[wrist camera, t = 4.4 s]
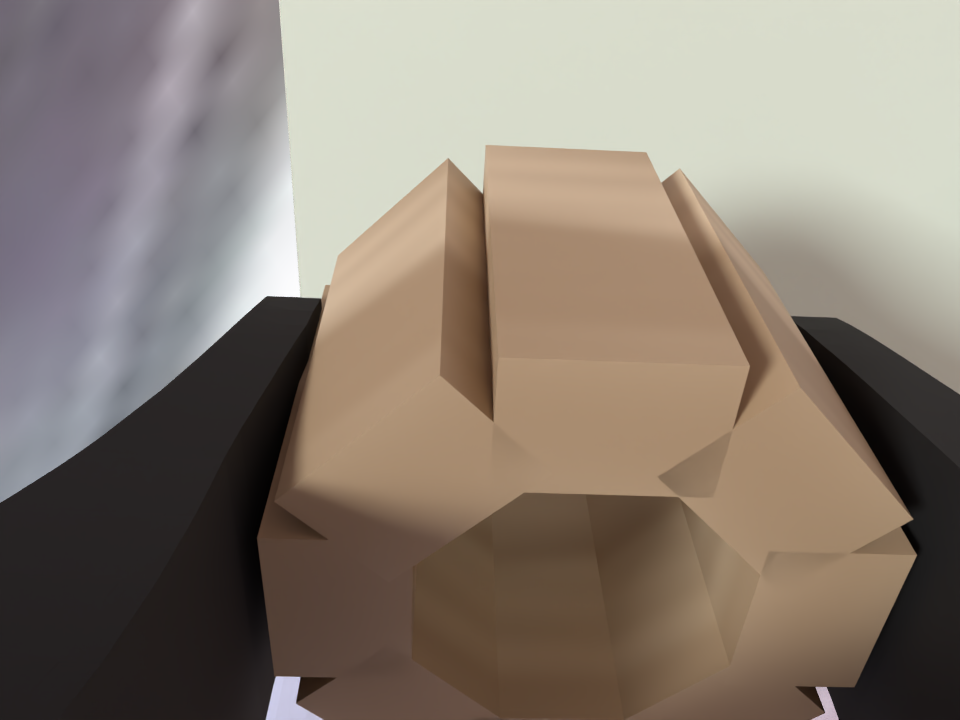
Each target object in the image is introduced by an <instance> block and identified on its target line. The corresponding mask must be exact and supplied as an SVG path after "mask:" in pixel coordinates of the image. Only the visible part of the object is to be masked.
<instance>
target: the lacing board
mask: <svg viewBox="0 0 960 720" xmlns="http://www.w3.org/2000/svg"><path fill="white" fill-rule="evenodd" d="M279 7H280V21H281V35H282V49H283V62H284V76H285V90H286V104H287V118H288V131H289V145H290V159H291V173H292V187H293V200H294V214H295V228H296V242H297V256H298V269H299V283H300V297H301V298H321V299H322V295H323V291H324V288H325V285H330V284H331V280H332V277H333V273H334V269H335V265H336V261H337V257H338V255H339V254H340V253H341V252H342V251H343V250H345V249H346V248H347V247H348V246H349V245H350V244H351V243H353V242H354V241H355V240H356V239H357V238H358V237H359V236H360V235H362V234H363V233H364V232H365V231H366V230H367V229H368V228H369V227H371V226H372V225H373V224H374V223H375V222H376V221H377V220H379V219H380V218H381V217H382V216H383V215H384V214H385V213H386V212H388V211H389V210H390V209H391V208H392V207H393V206H394V205H396V204H397V203H398V202H399V201H400V200H401V199H402V198H403V197H405V196H406V195H407V194H408V193H409V192H410V191H411V190H412V189H414V188H415V187H416V186H417V185H418V184H419V183H420V182H422V181H423V180H424V179H425V178H426V177H427V176H428V175H429V174H431V173H432V172H433V171H434V170H435V169H436V168H437V167H438V166H440V165H441V164H442V163H443V162H444V161H445V160H446V159H448V158H449V159H450V160H451V161H452V162H453V163H454V164H455V166H456V167H457V168H458V169H459V170H460V171H461V172H462V173H463V174H464V175H465V176H466V177H467V178H468V179H469V180H470V181H471V182H472V183H473V184H474V185H475V186H476V187H477V188H478V189H479V190H480V191H481V192H482V194H483V181H484V164H485V147H486V145H499V146H521V147H543V148H565V149H587V150H609V151H631V152H646V153H647V155H648V157H649V159H650V161H651V163H652V165H653V167H654V169H655V171H656V173H657V175H658V177H659V179H660V181H661V183H662V182H663V181H664V180H665V179H667V178H668V177H669V176H671V175H672V174H673V173H674V172H676V171H677V170H678V169H681V170H682V172H683V173H684V174H685V175H686V177H687V178H688V179H689V180H690V182H691V183H692V184H693V185H694V186H695V188H696V189H697V190H698V191H699V193H700V194H701V195H702V196H703V198H704V199H705V200H706V201H707V202H708V204H709V205H710V206H711V207H712V209H713V210H714V211H715V212H716V214H717V215H718V216H719V217H720V219H721V220H722V221H723V222H724V223H725V225H726V226H727V227H728V228H729V230H730V231H731V232H732V233H733V235H734V236H735V237H736V238H737V239H738V241H739V242H740V243H741V244H742V246H743V247H744V248H745V249H746V251H747V252H748V253H749V254H750V256H751V257H752V258H753V259H754V260H755V262H756V263H757V264H758V265H759V267H760V268H761V269H762V270H763V272H764V273H765V275H766V276H767V278H768V280H769V281H770V283H771V285H772V286H773V288H774V289H775V291H776V293H777V294H778V296H779V298H780V299H781V301H782V303H783V304H784V306H785V308H786V309H787V311H788V313H789V314H790V316H804V317H831V318H838V319H840V320H842V321H844V322H846V323H848V324H850V325H852V326H853V327H855V328H857V329H859V330H861V331H862V332H864V333H866V334H867V335H869V336H871V337H872V338H874V339H875V340H877V341H879V342H880V343H882V344H883V345H885V346H887V347H888V348H890V349H891V350H893V351H894V352H896V353H897V354H899V355H901V356H902V357H904V358H905V359H907V360H908V361H910V362H911V363H913V364H914V365H916V366H917V367H919V368H920V369H922V370H923V371H925V372H926V373H928V374H929V375H931V376H932V377H934V378H936V379H937V380H939V381H940V382H942V383H943V384H945V385H946V386H948V387H949V388H951V389H952V390H954V391H955V392H957V393H958V394H960V0H279Z"/></svg>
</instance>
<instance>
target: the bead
mask: <svg viewBox="0 0 960 720" xmlns="http://www.w3.org/2000/svg"><path fill="white" fill-rule="evenodd" d="M321 302H322V311H321V314H320V318H319V322H318V326H317V330H316V333H315V337H314V341H313V345H312V349H311V352H310V356H309V360H308V362H307V365H306V367H305V369H304V372H303V374H302V377H301V379H300V381H299V384H298V388H297V392H296V395H295V399H294V403H293V407H292V410H291V414H290V418H289V421H288V425H287V429H286V433H285V436H284V440H283V444H282V447H281V451H280V455H279V459H278V462H277V466H276V470H275V473H274V477H273V481H272V484H271V488H270V492H269V496H268V499H267V503H266V507H265V510H264V514H263V518H262V522H261V525H260V529H259V533H258V536H257V542H258V550H259V558H260V566H261V574H262V582H263V590H264V597H265V605H266V613H267V621H268V629H269V637H270V645H271V653H272V661H273V669H274V676H282V677H300V683H299V688H298V694H297V699H296V704H297V705H299V706H301V707H303V708H304V709H306V710H308V711H309V712H311V713H313V714H315V715H316V716H318V717H320V718H321V719H323V720H811V719H813V718H815V717H817V716H819V715H822V714H824V713H825V711H824V709H823V706H822V703H821V701H820V698H819V696H818V693H817V690H816V688H815V687H855V685H856V683H857V681H858V679H859V677H860V674H861V672H862V670H863V668H864V666H865V664H866V662H867V660H868V658H869V655H870V653H871V651H872V649H873V647H874V645H875V643H876V641H877V639H878V636H879V634H880V632H881V630H882V628H883V626H884V624H885V622H886V620H887V618H888V615H889V613H890V611H891V609H892V607H893V605H894V603H895V601H896V599H897V596H898V594H899V592H900V590H901V588H902V586H903V584H904V582H905V580H906V577H907V575H908V573H909V571H910V569H911V567H912V565H913V563H914V561H915V558H916V556H917V554H916V553H915V551H914V549H913V547H912V546H911V544H910V542H909V541H908V539H907V537H906V535H905V534H904V532H903V530H902V528H901V527H900V526H902V525H904V524H906V523H907V522H909V521H911V520H913V518H912V516H911V514H910V513H909V511H908V510H907V508H906V506H905V505H904V503H903V501H902V500H901V498H900V496H899V495H898V493H897V491H896V490H895V488H894V486H893V485H892V483H891V481H890V480H889V478H888V476H887V475H886V473H885V471H884V470H883V468H882V467H881V465H880V463H879V462H878V460H877V458H876V457H875V455H874V453H873V452H872V450H871V448H870V447H869V445H868V443H867V442H866V440H865V438H864V437H863V435H862V433H861V432H860V430H859V428H858V427H857V425H856V423H855V422H854V420H853V419H852V417H851V415H850V414H849V412H848V410H847V409H846V407H845V405H844V404H843V402H842V400H841V399H840V397H839V395H838V394H837V392H836V390H835V389H834V387H833V385H832V384H831V382H830V380H829V379H828V377H827V376H826V374H825V372H824V371H823V369H822V367H821V366H820V364H819V362H818V361H817V359H816V357H815V356H814V354H813V352H812V351H811V349H810V347H809V346H808V344H807V342H806V341H805V339H804V337H803V336H802V334H801V333H800V331H799V329H798V328H797V326H796V324H795V323H794V321H793V319H792V318H791V316H790V314H789V313H788V311H787V309H786V308H785V306H784V304H783V303H782V301H781V299H780V298H779V296H778V294H777V293H776V291H775V289H774V288H773V286H772V285H771V283H770V281H769V280H768V278H767V276H766V275H765V273H764V272H763V270H762V269H761V268H760V267H759V265H758V264H757V263H756V262H755V260H754V259H753V258H752V257H751V256H750V254H749V253H748V252H747V251H746V249H745V248H744V247H743V246H742V244H741V243H740V242H739V241H738V239H737V238H736V237H735V236H734V235H733V233H732V232H731V231H730V230H729V228H728V227H727V226H726V225H725V223H724V222H723V221H722V220H721V219H720V217H719V216H718V215H717V214H716V212H715V211H714V210H713V209H712V207H711V206H710V205H709V204H708V202H707V201H706V200H705V199H704V198H703V196H702V195H701V194H700V193H699V191H698V190H697V189H696V188H695V186H694V185H693V184H692V183H691V182H690V180H689V179H688V178H687V177H686V175H685V174H684V173H683V172H682V170H681V169H678V170H677V171H676V172H674V173H673V174H672V175H671V176H669V177H668V178H667V179H665V180H664V181H663V182H662V183H661V181H660V179H659V177H658V175H657V173H656V171H655V169H654V167H653V165H652V163H651V161H650V159H649V157H648V155H647V153H646V152H631V151H609V150H587V149H565V148H543V147H521V146H499V145H486V147H485V164H484V181H483V194H482V192H481V191H480V190H479V189H478V188H477V187H476V186H475V185H474V184H473V183H472V182H471V181H470V180H469V179H468V178H467V177H466V176H465V175H464V174H463V173H462V172H461V171H460V170H459V169H458V168H457V167H456V166H455V164H454V163H453V162H452V161H451V160H450V159H449V158H448V159H446V160H445V161H444V162H443V163H442V164H441V165H440V166H438V167H437V168H436V169H435V170H434V171H433V172H432V173H431V174H429V175H428V176H427V177H426V178H425V179H424V180H423V181H422V182H420V183H419V184H418V185H417V186H416V187H415V188H414V189H412V190H411V191H410V192H409V193H408V194H407V195H406V196H405V197H403V198H402V199H401V200H400V201H399V202H398V203H397V204H396V205H394V206H393V207H392V208H391V209H390V210H389V211H388V212H386V213H385V214H384V215H383V216H382V217H381V218H380V219H379V220H377V221H376V222H375V223H374V224H373V225H372V226H371V227H369V228H368V229H367V230H366V231H365V232H364V233H363V234H362V235H360V236H359V237H358V238H357V239H356V240H355V241H354V242H353V243H351V244H350V245H349V246H348V247H347V248H346V249H345V250H343V251H342V252H341V253H340V254H339V255H338V257H337V261H336V265H335V269H334V273H333V277H332V280H331V284H330V285H325V288H324V291H323V295H322V299H321Z"/></svg>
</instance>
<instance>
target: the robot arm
mask: <svg viewBox="0 0 960 720" xmlns="http://www.w3.org/2000/svg"><path fill="white" fill-rule="evenodd" d="M321 311H322V302H321V298H300V297H273V296H267V297H265V298H264V299H263V300H262V301H261V302H260V303H259V304H257V305H256V306H255V307H254V308H253V309H252V310H251V311H249V312H248V313H247V314H246V315H245V316H244V317H243V318H242V319H241V320H239V321H238V322H237V323H236V324H235V325H234V326H233V327H232V328H231V329H230V330H229V331H228V332H226V333H225V334H224V335H223V336H222V337H221V338H220V339H219V340H218V341H217V342H216V343H214V344H213V345H212V346H211V347H210V348H209V349H208V350H207V351H206V352H205V353H203V354H202V355H201V356H200V357H199V358H198V359H197V360H196V361H194V362H193V363H192V364H191V365H190V366H189V367H187V368H186V369H185V370H184V371H183V372H182V373H181V374H179V375H178V376H177V377H176V378H175V379H174V380H172V381H171V382H170V383H169V384H168V385H167V386H166V387H164V388H163V389H162V390H161V391H160V392H158V393H157V394H156V395H154V396H153V397H152V398H151V399H149V400H148V401H147V402H145V403H144V404H143V405H142V406H140V407H139V408H138V409H136V410H135V411H134V412H133V413H131V414H130V415H129V416H127V417H126V418H125V419H124V420H122V421H121V422H120V423H118V424H117V425H116V426H115V427H113V428H112V429H111V430H109V431H108V432H107V433H105V434H104V435H103V436H102V437H100V438H99V439H98V440H96V441H95V442H93V443H92V444H90V445H89V446H88V447H86V448H85V449H83V450H82V451H81V452H79V453H78V454H76V455H75V456H73V457H72V458H70V459H69V460H67V461H66V462H64V463H63V464H61V465H60V466H58V467H57V468H55V469H54V470H52V471H51V472H49V473H47V474H46V475H44V476H43V477H41V478H39V479H38V480H36V481H35V482H33V483H32V484H30V485H28V486H27V487H25V488H24V489H22V490H20V491H19V492H17V493H16V494H14V495H13V496H11V497H9V498H8V499H6V500H4V501H3V502H1V503H0V720H323V719H321V718H320V717H318V716H316V715H315V714H313V713H311V712H309V711H308V710H306V709H304V708H303V707H301V706H299V705H297V704H296V699H297V694H298V688H299V683H300V677H282V676H274V669H273V661H272V653H271V645H270V637H269V629H268V621H267V613H266V605H265V597H264V590H263V582H262V574H261V566H260V558H259V550H258V542H257V536H258V533H259V529H260V525H261V522H262V518H263V514H264V510H265V507H266V503H267V499H268V496H269V492H270V488H271V484H272V481H273V477H274V473H275V470H276V466H277V462H278V459H279V455H280V451H281V447H282V444H283V440H284V436H285V433H286V429H287V425H288V421H289V418H290V414H291V410H292V407H293V403H294V399H295V395H296V392H297V388H298V384H299V381H300V379H301V377H302V374H303V372H304V369H305V367H306V365H307V362H308V360H309V356H310V352H311V349H312V345H313V341H314V337H315V333H316V330H317V326H318V322H319V318H320V314H321ZM791 318H792V319H793V321H794V323H795V324H796V326H797V328H798V329H799V331H800V333H801V334H802V336H803V337H804V339H805V341H806V342H807V344H808V346H809V347H810V349H811V351H812V352H813V354H814V356H815V357H816V359H817V361H818V362H819V364H820V366H821V367H822V369H823V371H824V372H825V374H826V376H827V377H828V379H829V380H830V382H831V384H832V385H833V387H834V389H835V390H836V392H837V394H838V395H839V397H840V399H841V400H842V402H843V404H844V405H845V407H846V409H847V410H848V412H849V414H850V415H851V417H852V419H853V420H854V422H855V423H856V425H857V427H858V428H859V430H860V432H861V433H862V435H863V437H864V438H865V440H866V442H867V443H868V445H869V447H870V448H871V450H872V452H873V453H874V455H875V457H876V458H877V460H878V462H879V463H880V465H881V467H882V468H883V470H884V471H885V473H886V475H887V476H888V478H889V480H890V481H891V483H892V485H893V486H894V488H895V490H896V491H897V493H898V495H899V496H900V498H901V500H902V501H903V503H904V505H905V506H906V508H907V510H908V511H909V513H910V514H911V516H912V518H913V520H911V521H909V522H907V523H906V524H904V525H902V526H900V527H901V528H902V530H903V532H904V534H905V535H906V537H907V539H908V541H909V542H910V544H911V546H912V547H913V549H914V551H915V553H916V554H917V556H916V558H915V561H914V563H913V565H912V567H911V569H910V571H909V573H908V575H907V577H906V580H905V582H904V584H903V586H902V588H901V590H900V592H899V594H898V596H897V599H896V601H895V603H894V605H893V607H892V609H891V611H890V613H889V615H888V618H887V620H886V622H885V624H884V626H883V628H882V630H881V632H880V634H879V636H878V639H877V641H876V643H875V645H874V647H873V649H872V651H871V653H870V655H869V658H868V660H867V662H866V664H865V666H864V668H863V670H862V672H861V674H860V677H859V679H858V681H857V683H856V685H855V687H827V689H828V691H829V694H830V696H831V699H832V701H833V704H834V707H835V710H836V712H837V715H838V718H839V720H960V394H958V393H957V392H955V391H954V390H952V389H951V388H949V387H948V386H946V385H945V384H943V383H942V382H940V381H939V380H937V379H936V378H934V377H932V376H931V375H929V374H928V373H926V372H925V371H923V370H922V369H920V368H919V367H917V366H916V365H914V364H913V363H911V362H910V361H908V360H907V359H905V358H904V357H902V356H901V355H899V354H897V353H896V352H894V351H893V350H891V349H890V348H888V347H887V346H885V345H883V344H882V343H880V342H879V341H877V340H875V339H874V338H872V337H871V336H869V335H867V334H866V333H864V332H862V331H861V330H859V329H857V328H855V327H853V326H852V325H850V324H848V323H846V322H844V321H842V320H840V319H838V318H831V317H804V316H791Z"/></svg>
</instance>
